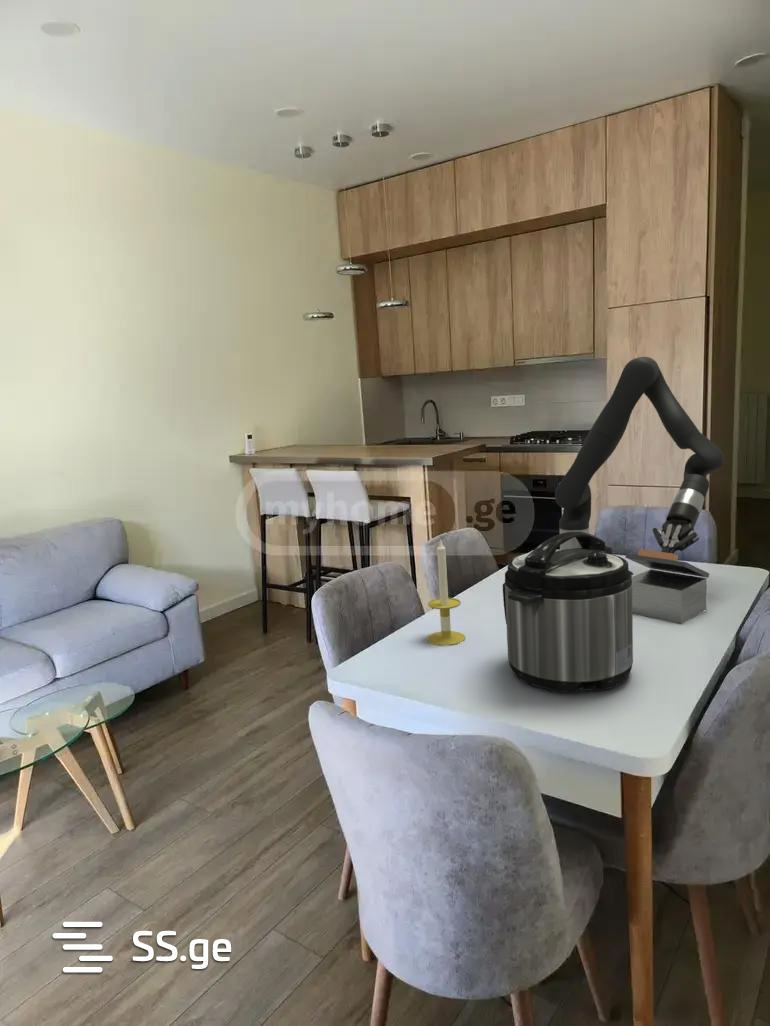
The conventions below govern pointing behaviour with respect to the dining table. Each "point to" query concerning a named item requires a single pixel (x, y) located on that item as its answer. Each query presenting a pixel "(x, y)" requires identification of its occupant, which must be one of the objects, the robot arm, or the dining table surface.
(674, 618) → the grey metal box
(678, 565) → the lid
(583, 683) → the pressure cooker
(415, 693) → the dining table surface
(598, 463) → the robot arm
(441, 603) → the candle
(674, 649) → the dining table surface
